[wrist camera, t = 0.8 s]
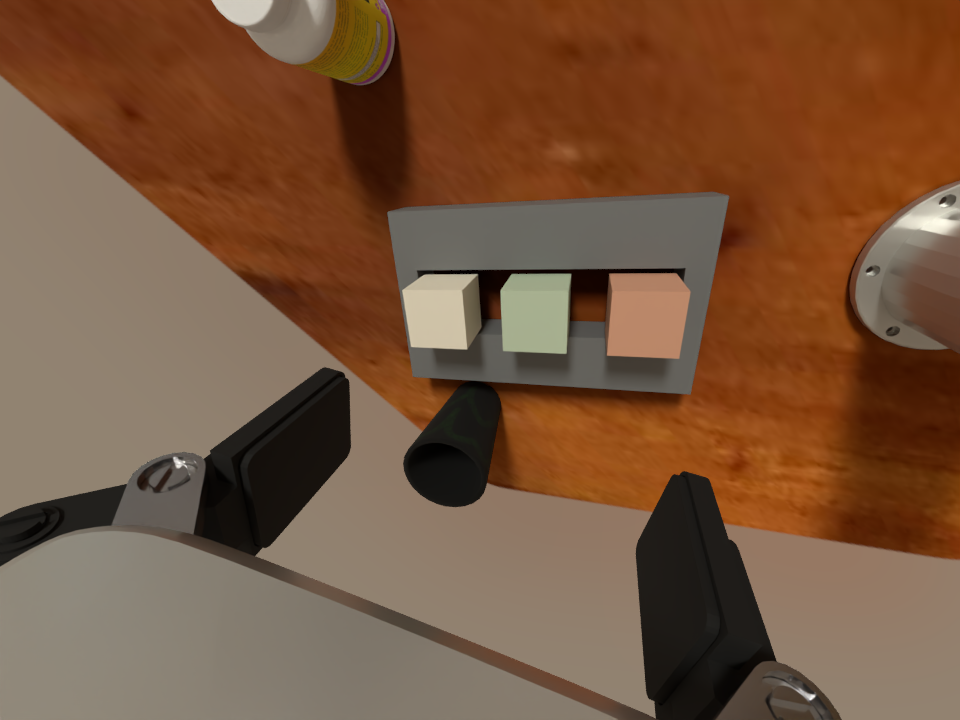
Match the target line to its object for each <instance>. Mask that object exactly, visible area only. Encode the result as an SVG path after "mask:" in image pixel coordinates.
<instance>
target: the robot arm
mask: <svg viewBox="0 0 960 720" xmlns="http://www.w3.org/2000/svg"><path fill="white" fill-rule="evenodd" d="M940 200H941V201H940ZM868 268H869V269H868ZM867 269H868V270H867ZM866 270H867V271H866ZM849 289H850V301H851V304H852V307H853V310H854V313H855V314H856V316H857V317H858V319H859V320H860V321H861V323H862V324H863V325H864V326H865V327H866V328H868V329H869V330H870V331H871V332H872V333H874V334H876V335H877V336H879V337H880V338H882V339H884V340H886V341H888V342H891V343H894V344H896V345H899V346H902V347H908V348H913V349H921V350H942V349H951V350H953V351H955V352H957V353H959V354H960V181H957V182H954V183H951V184H948V185H945V186H943V187H940V188H938V189H936V190H934V191H932V192H930V193H928V194H926V195H924V196H922V197H920V198H918V199H916V200H915V201H913V202H912V203H910V204H909V205H907V206H906V207H904V208H903V209H901V210H900V211H898V212H897V213H896V214H895V215H894V216H892V217H891V218H890V219H889V220H888V221H887V222H885V223H884V224H883V225H882V226H881V227H880V228H879V229H878V231H877V232H876V233H875V234H874V235H873V236H872V237H871V238H870V240H869V241H868V242H867V244H866V245H865V247H864V249H863V250H862V252H861V253H860V255H859V256H858V259H857V261H856V264H855V266H854V269H853V271H852V275H851V281H850V286H849ZM350 448H351V435H350V392H349V380H348V379H346V378H345V375H344V373H343V372H340V371H336V370H333V369H330V368H322V369H320V370H319V371H318V372H316V373H315V374H314V375H313V376H311V377H310V378H308V379H307V380H305V381H304V382H303V383H302V384H300V385H299V386H297V387H296V388H295V389H293V390H292V391H290V392H289V393H288V394H286V395H285V396H284V397H282V398H281V399H280V400H278V401H277V402H275V403H274V404H273V405H271V406H270V407H269V408H267V409H266V410H265V411H263V412H262V413H260V414H259V415H258V416H256V417H255V418H254V419H252V420H251V421H250V422H249V423H247V424H246V425H244V426H243V427H241V428H240V429H239V430H237V431H236V432H235V433H233V434H232V435H231V436H229V437H228V438H226V439H225V440H224V441H222V442H221V443H220V444H218V445H217V446H216V447H214V448H213V449H212V450H210V452H211V454H210V455H208V456H207V457H206V458H204V459H203V458H202V457H201V456H199V455H196V454H194V453H187V452H182V453H172V454H168V455H163V456H160V457H158V458H155V459H153V460H151V461H149V462H147V463H146V464H144V465H142V466H141V467H140V468H139V469H138V470H136V471H135V472H134V473H133V474H132V476H131V478H130V479H129V481H128V483H127V484H125V485H120V486H115V487H111V488H106V489H102V490H97V491H93V492H88V493H83V494H78V495H74V496H69V497H65V498H60V499H55V500H51V501H46V502H42V503H37V504H33V505H30V506H26V507H23V508H20V509H17V510H15V511H13V512H10V513H8V514H6V515H4V516H2V517H0V720H842V719H841V717H840V715H839V713H838V712H837V710H836V709H835V708H834V706H833V705H832V703H831V702H830V700H829V699H828V698H827V697H826V696H825V694H824V693H822V691H821V690H820V689H819V688H818V687H817V686H816V685H815V684H814V683H813V682H812V681H810V680H809V679H808V678H807V677H805V676H804V675H803V674H801V673H800V672H799V671H797V670H795V669H793V668H791V667H789V666H788V665H786V664H782V663H779V662H777V661H776V658H775V655H774V652H773V649H772V646H771V643H770V640H769V638H768V635H767V632H766V629H765V626H764V623H763V620H762V617H761V614H760V611H759V608H758V605H757V602H756V599H755V596H754V593H753V591H752V588H751V584H750V582H749V579H748V576H747V573H746V570H745V567H744V564H743V561H742V558H741V555H740V552H739V550H738V547H737V545H736V544H735V543H734V542H733V541H732V540H729V539H728V536H727V533H726V530H725V527H724V523H723V520H722V517H721V514H720V511H719V508H718V505H717V502H716V499H715V495H714V492H713V489H712V486H711V483H710V481H709V479H708V478H706V477H703V476H699V475H696V474H692V473H689V472H685V471H684V472H682V473H681V474H680V475H675V474H674V475H673V476H672V477H671V478H670V480H669V482H668V484H667V486H666V488H665V490H664V492H663V494H662V496H661V498H660V500H659V502H658V503H657V505H656V507H655V509H654V511H653V513H652V515H651V517H650V519H649V521H648V523H647V525H646V527H645V529H644V530H643V532H642V534H641V536H640V538H639V540H638V543H637V547H636V563H637V575H638V589H639V602H640V614H641V615H640V616H641V629H642V642H643V656H644V669H645V682H646V692H647V696H648V698H649V699H651V700H653V701H655V713H656V719H655V718H653V717H651V716H649V715H647V714H645V713H643V712H640V711H638V710H635V709H633V708H631V707H628V706H626V705H624V704H621V703H619V702H617V701H614V700H612V699H610V698H607V697H605V696H602V695H600V694H598V693H595V692H593V691H591V690H588V689H586V688H584V687H581V686H579V685H577V684H574V683H572V682H569V681H567V680H565V679H562V678H560V677H557V676H555V675H552V674H550V673H547V672H545V671H542V670H540V669H537V668H535V667H532V666H530V665H527V664H525V663H523V662H520V661H518V660H515V659H513V658H510V657H508V656H505V655H503V654H500V653H498V652H495V651H493V650H490V649H488V648H485V647H483V646H481V645H478V644H476V643H473V642H471V641H468V640H466V639H463V638H461V637H458V636H455V635H453V634H451V633H448V632H446V631H443V630H441V629H438V628H436V627H433V626H431V625H428V624H425V623H423V622H421V621H418V620H415V619H413V618H410V617H408V616H406V615H403V614H401V613H398V612H395V611H393V610H390V609H388V608H385V607H383V606H380V605H378V604H375V603H373V602H370V601H368V600H365V599H363V598H360V597H358V596H355V595H353V594H350V593H347V592H345V591H343V590H340V589H338V588H335V587H332V586H330V585H327V584H325V583H322V582H320V581H317V580H315V579H312V578H309V577H307V576H304V575H302V574H299V573H297V572H294V571H292V570H289V569H286V568H284V567H281V566H279V565H276V564H274V563H271V562H269V561H266V560H264V559H261V558H258V557H255V556H256V554H257V553H258V552H259V551H260V550H261V549H262V548H267V547H268V546H270V545H271V544H272V543H273V542H274V541H275V540H276V538H277V537H278V536H279V535H280V534H281V533H282V532H283V530H284V529H285V528H286V527H287V526H288V525H289V523H290V522H291V521H292V520H293V519H294V517H295V516H296V515H297V514H298V513H299V512H300V511H301V510H302V508H303V507H304V506H305V505H306V504H307V503H308V502H309V501H310V499H311V498H312V497H313V496H314V495H315V494H316V492H317V491H318V490H319V489H320V488H321V486H323V484H324V483H325V482H326V481H327V480H328V479H329V478H330V476H331V475H332V474H333V473H334V472H335V470H336V469H337V468H338V467H339V466H340V465H341V464H342V463H343V461H344V460H345V459H346V458H347V456H348V454H349V452H350Z"/></svg>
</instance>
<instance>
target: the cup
mask: <svg viewBox="0 0 960 720" xmlns="http://www.w3.org/2000/svg"><path fill="white" fill-rule="evenodd" d="M500 410H501V402H500V398H499V396H498V394H497V393H496V392H495V390H494V389H493V388H491V387H490V386H488V385H486V384H484V383H482V382H477V381H471V382H466V383H464V384H462V385H461V386H459V387H458V388H457V390H456V391H455V392H454V393H453V395H452V396H451V397H450V398H449V399H448V401H447V402H446V403H445V404H444V406H443V407H442V408H441V409H440V411H439V412H438V413H437V414H436V416H435V417H434V418H433V419H432V421H431V422H430V423H429V424H428V426H427V427H426V428H425V429H424V431H423V432H422V433H421V434H420V436H419V437H418V438H417V439H416V441H415V442H414V443H413V444H412V446H411V447H410V448H409V449H408V451H407V453H406V455H405V457H404V463H403V465H404V471H405V474H406V477H407V479H408V481H409V482H410V484H411V485H412V487H413V488H414V489H415V490H416V491H417V492H418V493H419V494H420V495H422V496H423V497H425V498H426V499H428V500H430V501H432V502H434V503H436V504H440V505H443V506H449V507H461V506H466V505H469V504H472V503H474V502H475V501H477V500H478V499H480V497H481V496H482V494H483V493H484V491H485V488H486V484H487V479H488V474H489V468H490V463H491V458H492V452H493V447H494V442H495V436H496V431H497V426H498V420H499V415H500Z"/></svg>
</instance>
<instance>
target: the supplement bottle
mask: <svg viewBox="0 0 960 720" xmlns="http://www.w3.org/2000/svg"><path fill="white" fill-rule="evenodd" d="M212 2H213V4H214V5H215V6H216V8H217V9H218V10H219V12H220V13H221V14H222V15H223V16H224V17H226V18H227V19H228V20H229V21H231V22H232V23H234V24H236V25H238V26H241V27H243V28H245V29H246V31H247V32H248V34H249V35H250V37H251V38H252V39H253V40H254V41H255V43H256V44H257V45H258V46H259V47H260V48H261V49H262V50H264V51H265V52H266V53H267V54H269V55H270V56H272V57H274V58H276V59H278V60H280V61H283V62H286V63H289V64H292V65H295V66H299V67H302V68H305V69H308V70H311V71H314V72H317V73H320V74H323V75H326V76H329V77H332V78H335V79H337V80H340V81H343V82H347V83H350V84H354V85H366V84H370V83H372V82H374V81H376V80H377V79H379V78H380V77H381V76H382V75H383V74H384V72H385V71H386V70H387V68H388V66H389V64H390V62H391V59H392V56H393V52H394V44H395V32H394V25H393V21H392V17H391V14H390V11H389V9H388V7H387V5H386V3H385V2H384V0H212Z"/></svg>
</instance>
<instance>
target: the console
mask: <svg viewBox="0 0 960 720" xmlns="http://www.w3.org/2000/svg"><path fill="white" fill-rule="evenodd" d="M728 199H729V196H727V195H723V194H720V193H716V192H702V193H681V194H661V195H641V196H621V197H601V198H581V199H560V200H540V201H520V202H500V203H480V204H459V205H439V206H419V207H405V208H401V209H397V210H393V211H389V212H387V214H388V221H389V227H390V233H391V240H392V246H393V252H394V259H395V265H396V271H397V278H398V284H399V290H400V297H401V303H402V309H403V316H404V322H405V328H406V335H407V341H408V347H409V354H410V360H411V366H412V373H413V377H424V378H439V379H455V380H471V381H487V382H503V383H519V384H534V385H550V386H566V387H582V388H598V389H614V390H629V391H645V392H661V393H677V394H691V389H692V384H693V379H694V374H695V369H696V363H697V358H698V353H699V348H700V343H701V338H702V333H703V328H704V322H705V317H706V312H707V307H708V302H709V297H710V292H711V287H712V281H713V276H714V271H715V266H716V261H717V256H718V251H719V246H720V240H721V235H722V230H723V225H724V220H725V215H726V210H727V205H728ZM655 268H674V273H677V275H678V276H679V277H680V279H681V280H682V281H683V282H684V284H685V285H686V286H687V288H688V289H689V290H690V292H691V293H690V299H689V304H688V310H687V316H686V322H685V328H684V333H683V339H682V345H681V351H680V356H679V359H674V358H651V357H628V356H607V350H606V339H605V322H587V321H570V323H569V336H568V345H567V354H559V353H536V352H513V351H503V338H502V319H481V326H482V327H481V329H480V330H479V332H478V334H477V335H476V337H475V338H474V340H473V341H472V343H471V344H470V346H469V348H468V349H444V348H421V347H411V343H410V337H409V330H408V324H407V318H406V311H405V305H404V298H403V292H402V290H403V289H405V288H406V287H407V286H409V285H410V284H412V283H413V282H415V281H416V280H417V279H419V278H420V277H422V276H423V275H425V274H434V272H433V270H521V269H655Z"/></svg>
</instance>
